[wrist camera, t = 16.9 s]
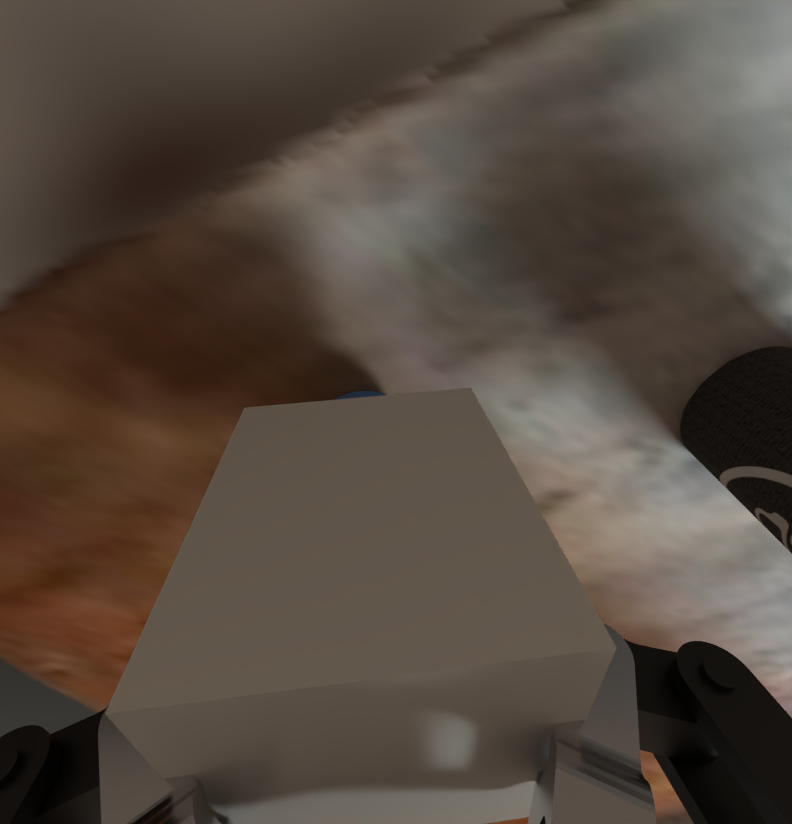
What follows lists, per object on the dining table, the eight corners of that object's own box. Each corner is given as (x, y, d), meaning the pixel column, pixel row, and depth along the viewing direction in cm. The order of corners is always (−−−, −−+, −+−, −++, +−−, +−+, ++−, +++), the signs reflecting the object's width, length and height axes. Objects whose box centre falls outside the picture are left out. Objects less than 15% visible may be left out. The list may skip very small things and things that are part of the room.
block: (470, 388, 12) (616, 647, 5) (462, 541, 15) (545, 814, 9) (244, 407, 11) (105, 713, 5) (287, 560, 15) (238, 861, 8)
